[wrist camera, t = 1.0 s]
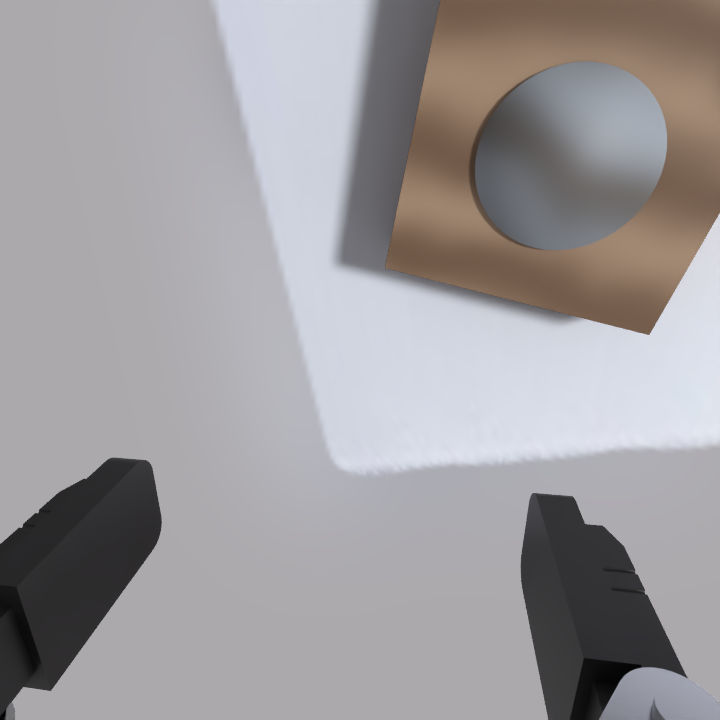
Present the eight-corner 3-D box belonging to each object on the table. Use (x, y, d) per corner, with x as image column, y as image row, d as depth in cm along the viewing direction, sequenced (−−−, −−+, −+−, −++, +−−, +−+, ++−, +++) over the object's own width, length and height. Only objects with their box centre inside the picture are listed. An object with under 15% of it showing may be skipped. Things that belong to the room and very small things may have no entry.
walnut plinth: (460, -53, 25) (453, -67, 22) (794, 8, 24) (844, 4, 20) (396, 245, 35) (383, 269, 31) (634, 305, 33) (650, 337, 29)
